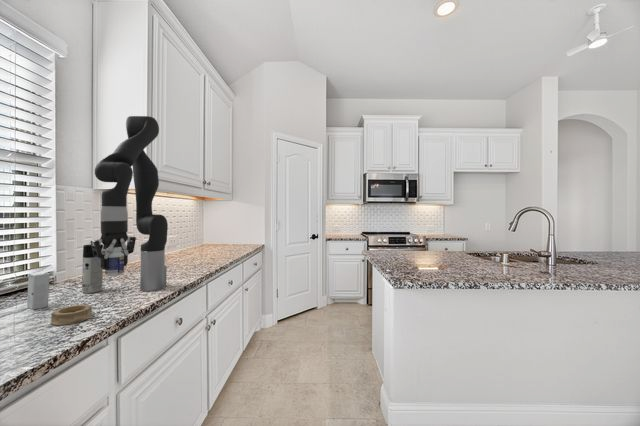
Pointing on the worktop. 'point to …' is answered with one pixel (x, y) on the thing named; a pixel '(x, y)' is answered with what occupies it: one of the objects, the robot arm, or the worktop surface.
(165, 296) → the worktop surface
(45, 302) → the skincare box
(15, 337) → the worktop surface
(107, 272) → the pill bottle
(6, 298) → the worktop surface
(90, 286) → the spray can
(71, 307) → the collar
